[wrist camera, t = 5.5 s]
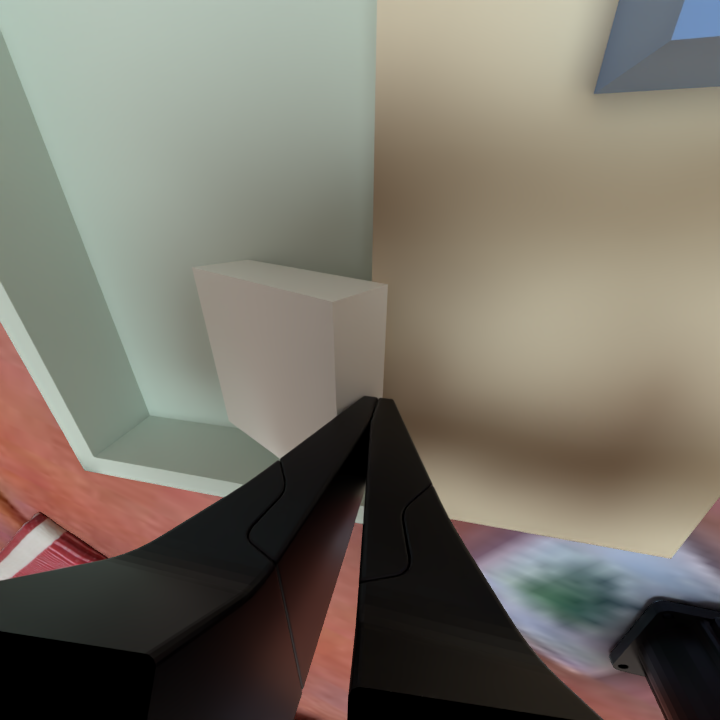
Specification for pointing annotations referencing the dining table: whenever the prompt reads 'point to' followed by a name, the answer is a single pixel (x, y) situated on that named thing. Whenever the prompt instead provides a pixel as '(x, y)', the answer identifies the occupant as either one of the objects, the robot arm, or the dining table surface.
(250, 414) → the white tile
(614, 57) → the blue tile
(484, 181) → the beige flat block
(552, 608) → the dining table surface
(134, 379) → the tray
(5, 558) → the dish towel
